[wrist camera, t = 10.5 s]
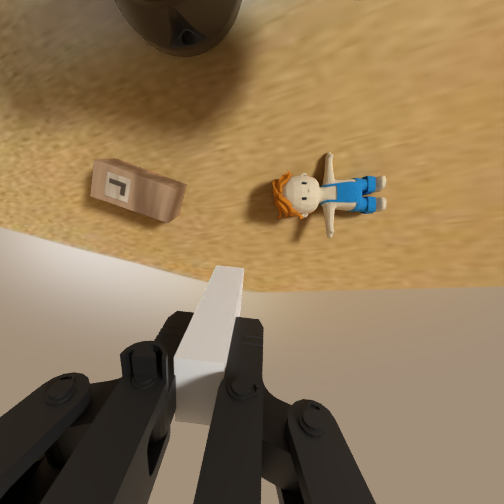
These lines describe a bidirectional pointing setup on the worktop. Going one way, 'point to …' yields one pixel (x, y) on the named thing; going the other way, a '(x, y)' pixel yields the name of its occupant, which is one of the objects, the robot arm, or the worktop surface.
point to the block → (137, 189)
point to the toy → (327, 195)
